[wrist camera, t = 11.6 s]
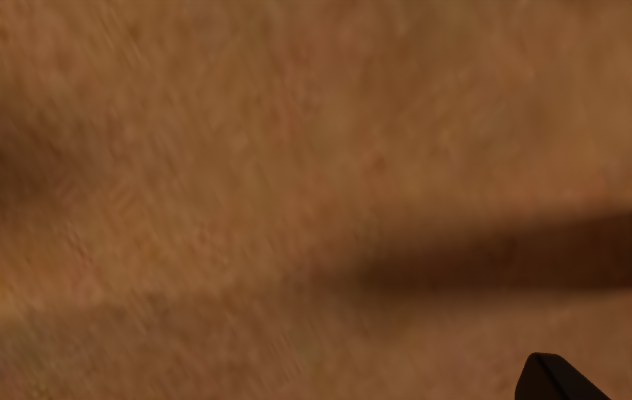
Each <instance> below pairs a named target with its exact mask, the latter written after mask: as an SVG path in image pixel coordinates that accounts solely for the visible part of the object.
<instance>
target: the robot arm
mask: <svg viewBox="0 0 632 400" xmlns="http://www.w3.org/2000/svg"><path fill="white" fill-rule="evenodd" d="M515 400H611V399H610V398H609V397H608V396H606V395H605V394H604V393H603V392H602V391H601V390H599V389H598V388H597V387H596V386H595V385H594V384H593V383H591V382H590V381H589V380H588V379H587V378H586V377H584V376H583V375H582V374H581V373H580V372H579V371H578V370H576V369H575V368H574V367H573V366H572V365H571V364H569V363H568V362H567V361H566V360H565V359H564V358H562V357H561V356H559V355H557V354H550V353H539V352H535V353H532V354H530V355H529V357H528V359H527V361H526V363H525V366H524V368H523V371H522V373H521V376H520V378H519V381H518V383H517V386H516V389H515Z"/></svg>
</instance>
